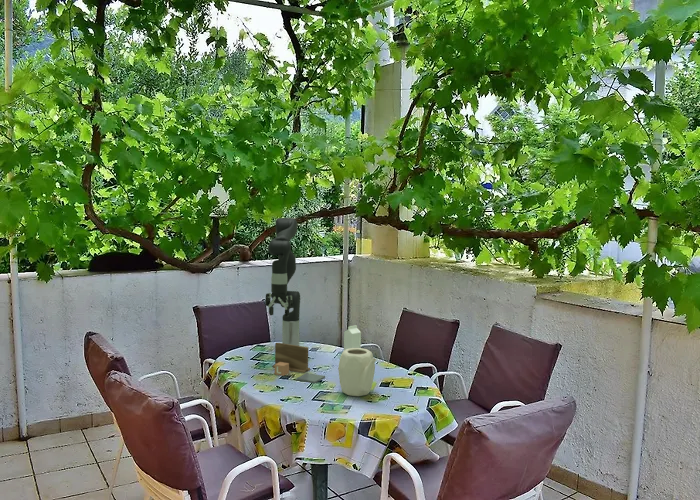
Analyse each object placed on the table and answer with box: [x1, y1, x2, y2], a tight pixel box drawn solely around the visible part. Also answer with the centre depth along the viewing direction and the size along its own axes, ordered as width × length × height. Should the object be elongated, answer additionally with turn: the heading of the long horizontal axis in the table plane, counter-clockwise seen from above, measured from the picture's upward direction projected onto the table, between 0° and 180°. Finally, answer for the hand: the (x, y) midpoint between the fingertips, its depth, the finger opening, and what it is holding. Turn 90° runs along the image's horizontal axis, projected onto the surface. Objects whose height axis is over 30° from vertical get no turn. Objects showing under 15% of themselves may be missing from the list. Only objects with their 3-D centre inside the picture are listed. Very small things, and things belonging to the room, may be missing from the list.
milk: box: [343, 324, 362, 351], centre depth 295 cm, size 6×6×22 cm
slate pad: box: [295, 372, 326, 384], centre depth 279 cm, size 10×10×1 cm
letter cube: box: [274, 362, 290, 377], centre depth 285 cm, size 5×5×5 cm
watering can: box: [337, 347, 377, 397], centre depth 259 cm, size 16×27×19 cm, turn 31°
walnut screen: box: [272, 342, 311, 374], centre depth 293 cm, size 6×18×12 cm, turn 65°
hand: (279, 316), depth 283 cm, fingers open, 8 cm apart
